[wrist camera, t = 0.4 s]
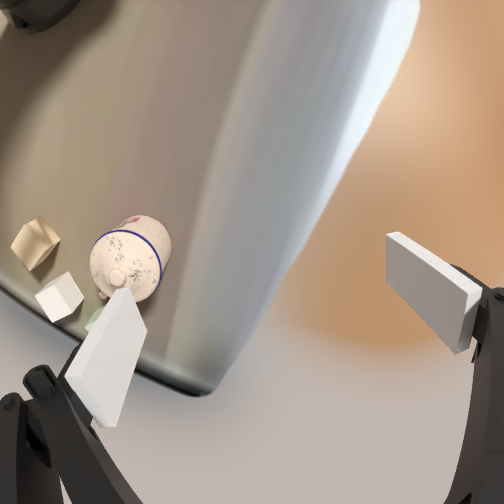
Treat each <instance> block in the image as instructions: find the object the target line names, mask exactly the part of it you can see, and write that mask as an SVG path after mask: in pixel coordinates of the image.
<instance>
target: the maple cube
mask: <svg viewBox="0 0 504 504" xmlns="http://www.w3.org/2000/svg"><path fill="white" fill-rule="evenodd" d="M59 241H60V239H59V237H58V236H57V235H56V234H55V232H54V231H53V230H52V229H51V228H50V226H49V225H48V224H47V223H46V221H45V220H44V219H43V218H42V216H41V217H39V218H37V219H35V220H33V221H31V222H29V223H27V224H25V225H24V226H23V228H22V229H21V231H20V232H19V234H18V235H17V237H16V239H15V240H14V242H13V243H12V245H11V248H12V250H13V251H14V252H15V253H16V255H17V256H18V257H19V259H20V260H21V261H22V262H23V263H24V265H25V266H26V267H27V268H28V270H29V271H31V270H32V269H34V268H35V267H36V266H37V265H39V264H40V263H41V262H43V261H44V260H45V259H46V258H47V257H48V255H49V254H50V253H51V251H52V250H53V249H54V248H55V246H56V245H57V244H58V243H59Z"/></svg>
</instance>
